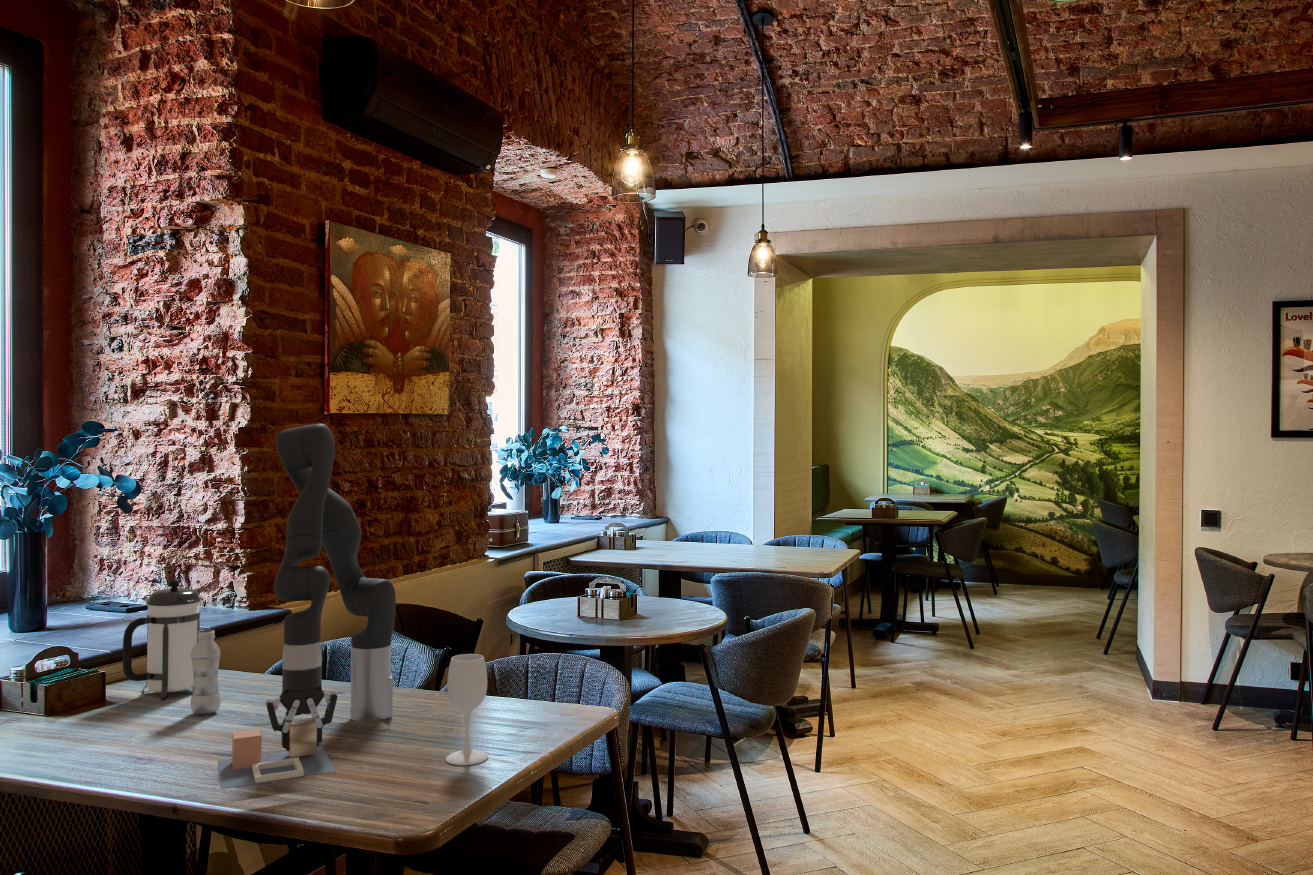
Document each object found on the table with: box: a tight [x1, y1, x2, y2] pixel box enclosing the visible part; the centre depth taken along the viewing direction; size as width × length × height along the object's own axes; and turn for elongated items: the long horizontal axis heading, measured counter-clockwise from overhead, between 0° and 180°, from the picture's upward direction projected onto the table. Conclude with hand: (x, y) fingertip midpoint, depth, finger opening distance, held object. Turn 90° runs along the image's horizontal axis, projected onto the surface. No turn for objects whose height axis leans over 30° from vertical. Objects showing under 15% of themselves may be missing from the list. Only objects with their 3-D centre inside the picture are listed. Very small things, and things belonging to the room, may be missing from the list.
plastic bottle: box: [189, 629, 222, 715], centre depth 220 cm, size 6×7×20 cm
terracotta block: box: [231, 728, 263, 770], centre depth 180 cm, size 5×5×6 cm
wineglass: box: [445, 653, 489, 766], centre depth 188 cm, size 9×9×21 cm
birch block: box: [288, 716, 318, 757], centre depth 185 cm, size 5×5×6 cm
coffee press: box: [122, 579, 204, 701], centre depth 238 cm, size 17×16×30 cm
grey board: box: [217, 746, 336, 790], centre depth 179 cm, size 20×17×2 cm
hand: (301, 746), depth 185 cm, fingers closed on birch block, 5 cm apart
